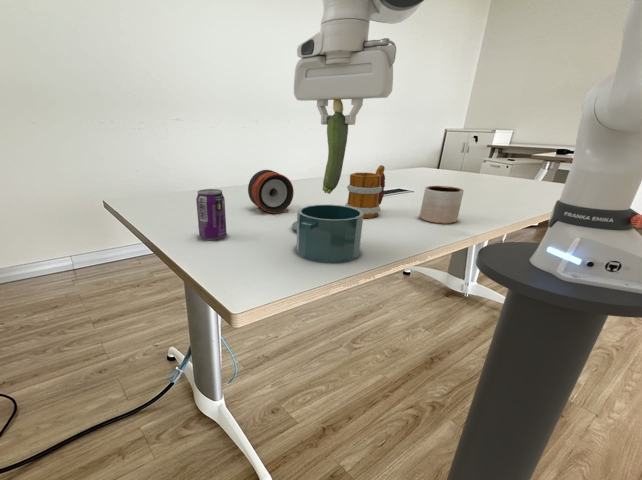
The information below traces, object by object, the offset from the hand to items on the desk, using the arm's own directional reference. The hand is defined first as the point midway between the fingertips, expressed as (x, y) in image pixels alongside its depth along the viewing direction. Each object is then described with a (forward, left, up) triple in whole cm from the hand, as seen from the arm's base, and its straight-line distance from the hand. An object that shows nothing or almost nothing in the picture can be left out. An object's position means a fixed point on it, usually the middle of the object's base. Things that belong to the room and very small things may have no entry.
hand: (337, 124), depth 70 cm
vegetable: (0, 0, -14) cm, 14 cm away
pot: (0, 0, -28) cm, 28 cm away
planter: (-12, -47, -28) cm, 56 cm away
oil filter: (+37, -23, -28) cm, 52 cm away
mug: (+9, -40, -28) cm, 49 cm away
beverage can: (+29, +10, -28) cm, 41 cm away
